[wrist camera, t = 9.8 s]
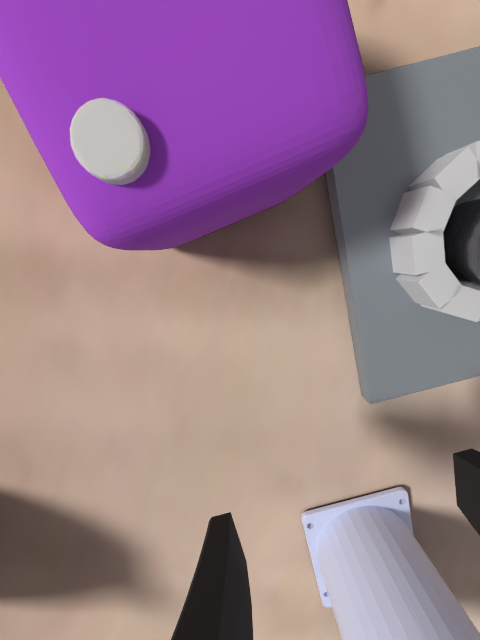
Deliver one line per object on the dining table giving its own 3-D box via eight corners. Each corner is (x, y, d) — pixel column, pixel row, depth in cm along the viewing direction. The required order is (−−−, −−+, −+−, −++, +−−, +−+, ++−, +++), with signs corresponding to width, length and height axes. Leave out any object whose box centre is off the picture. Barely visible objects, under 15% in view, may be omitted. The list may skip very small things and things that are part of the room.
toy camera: (189, -103, 14) (112, -977, 4) (330, 171, 17) (482, 64, 7) (6, 41, 14) (-434, -387, 5) (174, 277, 18) (117, 312, 8)
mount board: (559, 343, 20) (628, 362, 17) (361, 395, 20) (390, 425, 17) (565, 34, 16) (659, -25, 12) (313, 99, 16) (338, 57, 12)
